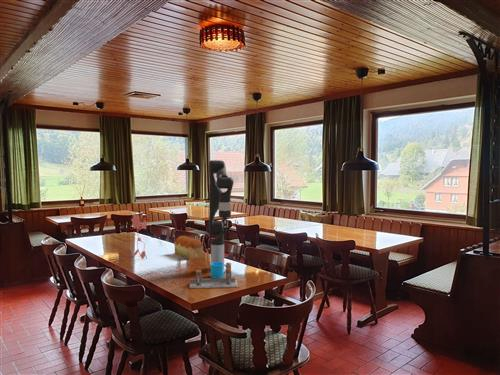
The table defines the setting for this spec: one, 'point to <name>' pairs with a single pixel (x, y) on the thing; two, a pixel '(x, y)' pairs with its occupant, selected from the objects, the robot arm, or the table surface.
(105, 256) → the table surface
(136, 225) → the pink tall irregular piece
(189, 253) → the bread
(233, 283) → the pitch gauge
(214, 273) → the mug
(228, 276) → the sliding leg
